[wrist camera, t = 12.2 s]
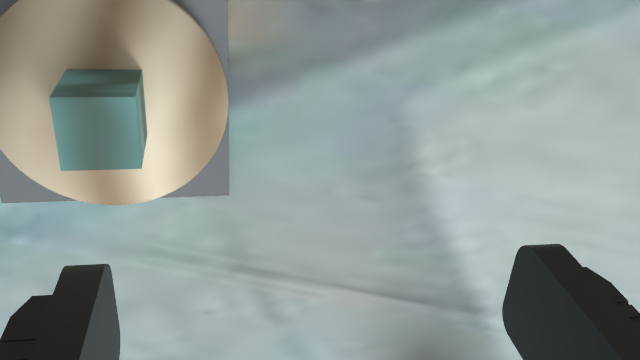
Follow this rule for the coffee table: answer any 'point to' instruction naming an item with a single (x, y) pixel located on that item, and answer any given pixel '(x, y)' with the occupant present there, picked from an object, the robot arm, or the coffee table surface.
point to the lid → (109, 97)
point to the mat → (213, 180)
